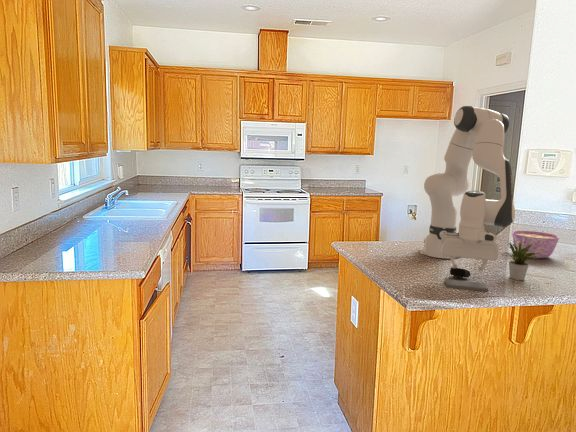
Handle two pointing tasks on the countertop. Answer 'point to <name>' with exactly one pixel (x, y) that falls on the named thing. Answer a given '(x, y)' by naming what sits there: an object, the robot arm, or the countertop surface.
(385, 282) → the countertop surface
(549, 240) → the bowl of food
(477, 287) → the gray rectangular block
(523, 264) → the house plant
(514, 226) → the countertop surface
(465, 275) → the tape measure
